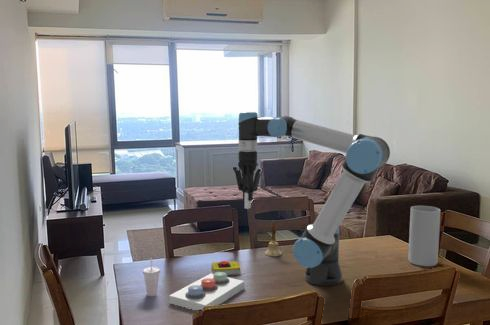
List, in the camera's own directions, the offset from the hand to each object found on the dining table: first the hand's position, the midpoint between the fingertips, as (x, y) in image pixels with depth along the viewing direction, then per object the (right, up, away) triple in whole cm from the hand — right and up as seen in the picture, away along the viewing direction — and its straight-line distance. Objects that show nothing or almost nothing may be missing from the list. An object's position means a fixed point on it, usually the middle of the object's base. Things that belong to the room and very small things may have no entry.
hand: (247, 208), depth 194 cm
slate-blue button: (-19, -29, -22) cm, 41 cm away
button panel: (-15, -32, -15) cm, 38 cm away
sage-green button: (-11, -27, -9) cm, 31 cm away
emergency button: (-9, -29, +11) cm, 32 cm away
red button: (-15, -28, -16) cm, 35 cm away
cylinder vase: (+80, -27, +22) cm, 87 cm away
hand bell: (+13, -26, +34) cm, 45 cm away
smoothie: (-36, -32, -14) cm, 50 cm away
